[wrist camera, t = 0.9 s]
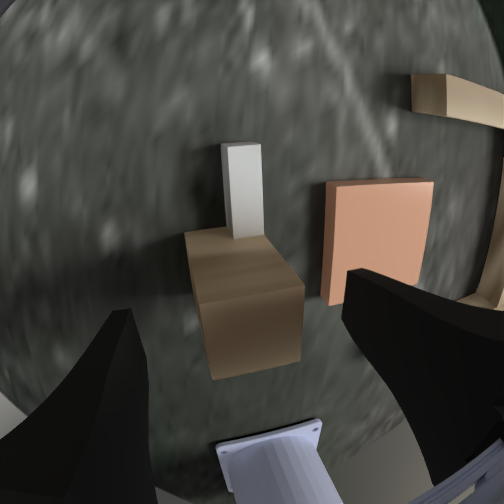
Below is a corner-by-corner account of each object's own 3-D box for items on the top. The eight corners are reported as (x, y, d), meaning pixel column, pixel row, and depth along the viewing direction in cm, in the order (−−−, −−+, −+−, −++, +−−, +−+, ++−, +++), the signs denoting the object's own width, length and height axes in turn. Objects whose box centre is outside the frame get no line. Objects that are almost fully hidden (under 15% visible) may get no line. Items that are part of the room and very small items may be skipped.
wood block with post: (259, 339, 17) (295, 418, 12) (203, 350, 16) (223, 436, 11) (249, 141, 12) (307, 160, 8) (174, 148, 12) (181, 171, 7)
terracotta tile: (402, 272, 18) (417, 283, 17) (316, 291, 17) (328, 306, 16) (415, 175, 16) (433, 182, 14) (321, 179, 14) (336, 186, 13)
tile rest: (482, 306, 22) (501, 320, 20) (380, 348, 20) (399, 372, 18) (517, 107, 15) (543, 112, 13) (410, 74, 13) (446, 73, 10)
